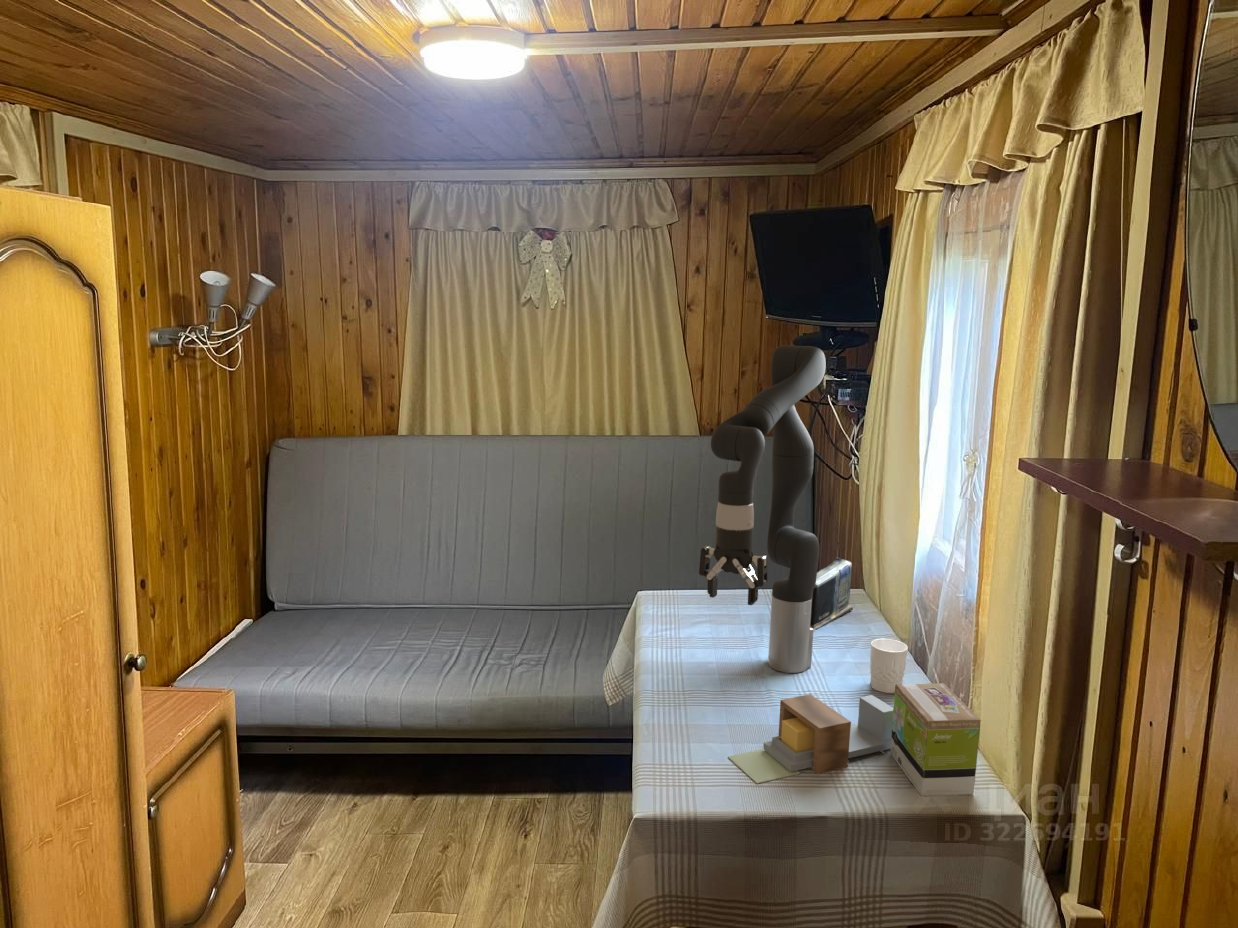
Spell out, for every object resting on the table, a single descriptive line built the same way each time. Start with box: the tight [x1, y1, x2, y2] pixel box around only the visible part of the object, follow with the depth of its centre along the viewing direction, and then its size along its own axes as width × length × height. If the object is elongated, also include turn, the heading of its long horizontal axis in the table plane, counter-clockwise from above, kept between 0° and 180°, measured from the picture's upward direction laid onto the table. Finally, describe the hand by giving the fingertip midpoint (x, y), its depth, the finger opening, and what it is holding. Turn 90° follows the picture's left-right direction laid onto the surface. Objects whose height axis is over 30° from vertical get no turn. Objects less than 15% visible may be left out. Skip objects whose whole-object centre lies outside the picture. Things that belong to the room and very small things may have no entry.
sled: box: [762, 694, 894, 772], centre depth 170 cm, size 24×9×7 cm, turn 114°
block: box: [781, 717, 815, 753], centre depth 167 cm, size 5×5×5 cm
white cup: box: [869, 638, 909, 694], centre depth 198 cm, size 8×8×10 cm
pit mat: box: [848, 751, 885, 763], centre depth 172 cm, size 8×10×1 cm
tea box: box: [889, 682, 982, 797], centre depth 161 cm, size 15×10×15 cm, turn 5°
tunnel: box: [778, 694, 852, 775], centre depth 168 cm, size 7×12×9 cm, turn 24°
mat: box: [727, 748, 800, 785], centre depth 164 cm, size 9×10×1 cm
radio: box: [810, 557, 854, 632], centre depth 241 cm, size 23×9×15 cm, turn 133°
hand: (731, 600), depth 182 cm, fingers open, 8 cm apart
